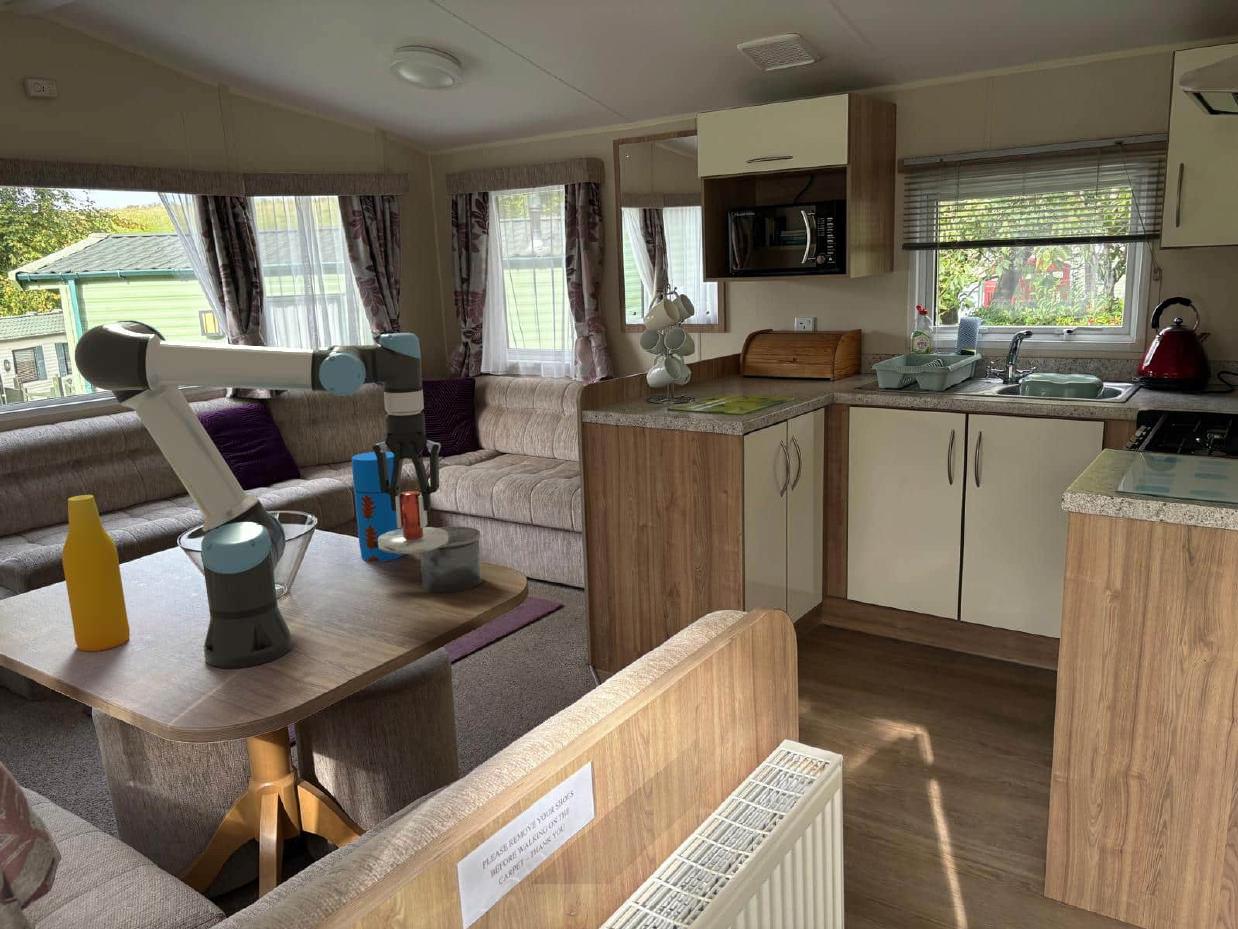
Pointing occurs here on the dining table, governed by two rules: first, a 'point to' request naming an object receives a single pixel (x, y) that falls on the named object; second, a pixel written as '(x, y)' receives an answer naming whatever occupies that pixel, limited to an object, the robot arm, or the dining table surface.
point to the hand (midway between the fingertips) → (412, 525)
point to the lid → (412, 531)
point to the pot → (452, 562)
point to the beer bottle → (93, 579)
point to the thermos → (372, 505)
